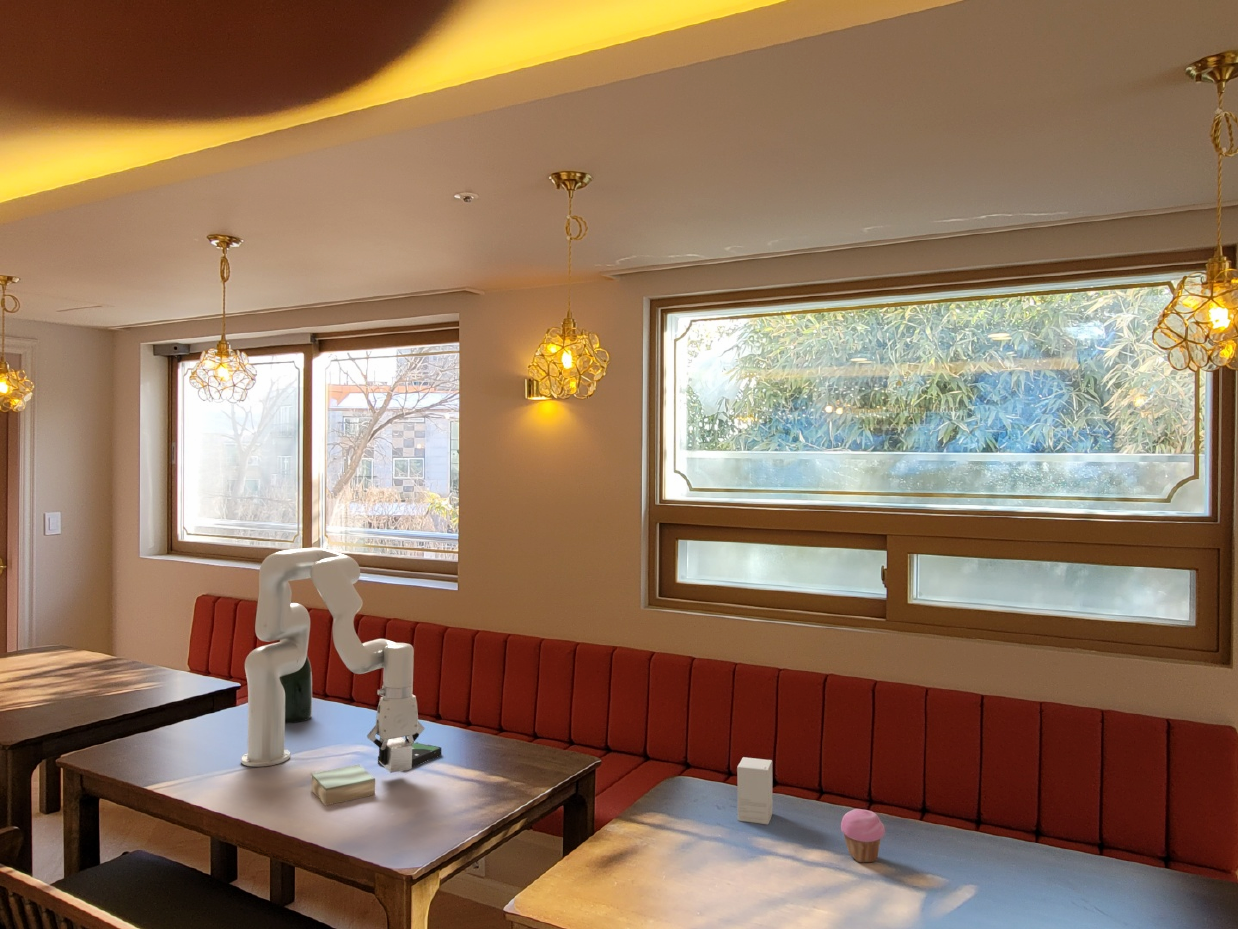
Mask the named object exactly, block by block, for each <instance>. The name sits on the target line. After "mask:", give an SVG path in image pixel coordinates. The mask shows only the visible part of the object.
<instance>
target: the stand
mask: <svg viewBox="0 0 1238 929" xmlns="http://www.w3.org/2000/svg"><path fill="white" fill-rule="evenodd" d="M311 792H313V794H315V795H316V797H319V798H320V799H321V800H320V799H319V798H318V799H319V800H320V801H321V802H322V803H323V804H324V805H325V806H329V804H330V805H333V804H332V803H334V804H337V803H342V802H347V801H352V800H356V799H361V798H366V797H370V796H373V795H376V778H375V776H373V775H372V773H370V772H368V771H367V770H366V769H365V768H364V767H363V766H361V765H360V764H356V765H355V764H354V765H350V766H345V767H341V768H335V769H330V770H324V771H319V772H316V773H315V772H314V773H311Z"/></svg>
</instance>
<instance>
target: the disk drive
mask: <svg viewBox="0 0 1238 929" xmlns="http://www.w3.org/2000/svg"><path fill="white" fill-rule="evenodd" d="M440 755H441V756H442V747H440V746H436V745H431V744H425V743H424V744H423V743H419V742H418V741H415V742H414V744H413V745H412V768H414V767H417V766H419V765H422V764H424V763H426V762H428V761H427V760H429V761H431V760H433V758H434V759H435V758H438V757H440ZM437 756H438V757H437ZM425 761H426V762H425ZM423 762H424V763H423ZM421 763H422V764H421ZM377 765H380V766H381V765H382V764H381V763H380V762H379V755H378V756H377ZM382 766H383V765H382Z"/></svg>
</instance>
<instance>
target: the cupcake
mask: <svg viewBox="0 0 1238 929" xmlns="http://www.w3.org/2000/svg"><path fill="white" fill-rule="evenodd" d="M840 830H841V833H842V834H843V837H844V840H845V844H846V848H847V851H848V854H849V855H850V857H853V859H855V861H856V862H859V863H871V862H876V861H877V860H878V856H879V851H880V844H881V839H883V838H884V837H885V833H886V828H885V825H884V823H882V821H881V819H880V817H879V815H878V814H877V813H875V812H874V811H872V810H868V809H861V808H854V809H851V810H849V811H848V812H846V813H845V814H844V815H843V817H842V819H841V823H840Z"/></svg>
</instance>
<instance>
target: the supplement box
mask: <svg viewBox="0 0 1238 929" xmlns="http://www.w3.org/2000/svg"><path fill="white" fill-rule="evenodd" d="M736 766H737V768H736V772H737V821H739V822H748V823H754V824H762V825H769V824H770V821H771V818H772V816H773V809H774V808H773V806H774V805H773V760H772V759H763V758H755V757H754V758H753V757H747V756H746V757H745V756H743V757H742V758H741V760H740V762H739V763H738V765H736Z"/></svg>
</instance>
